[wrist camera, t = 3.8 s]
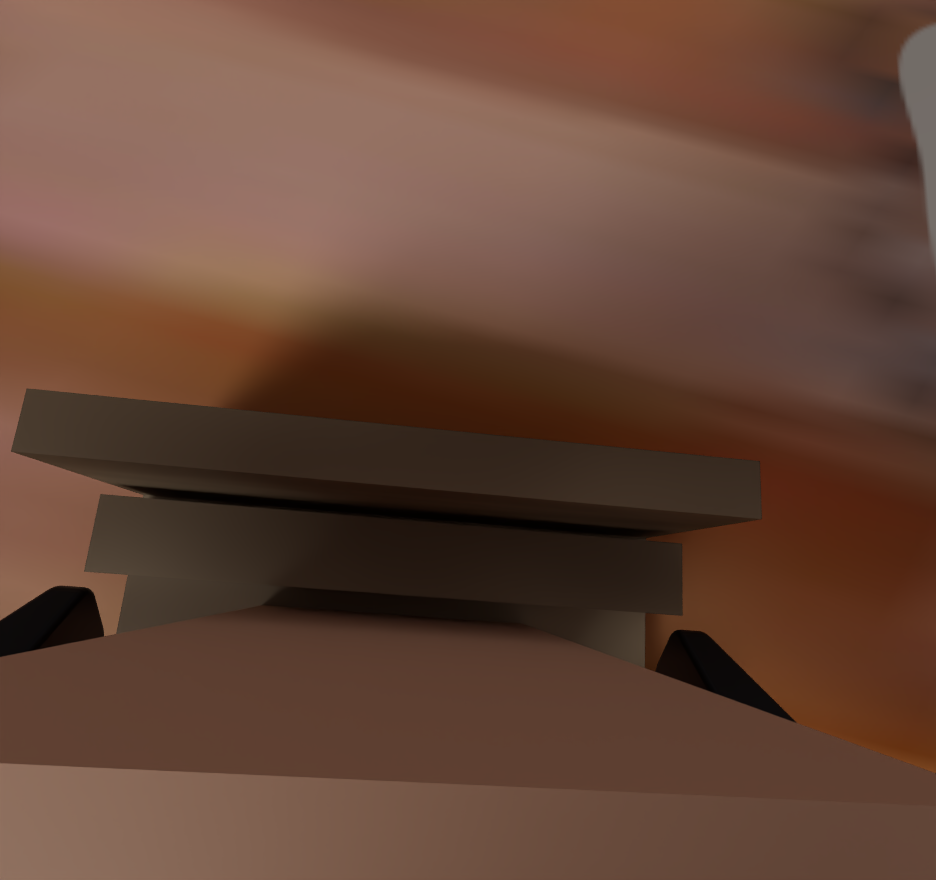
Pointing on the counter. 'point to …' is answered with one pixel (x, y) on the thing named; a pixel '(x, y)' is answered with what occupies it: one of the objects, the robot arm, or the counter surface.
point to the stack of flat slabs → (382, 517)
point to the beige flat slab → (422, 762)
